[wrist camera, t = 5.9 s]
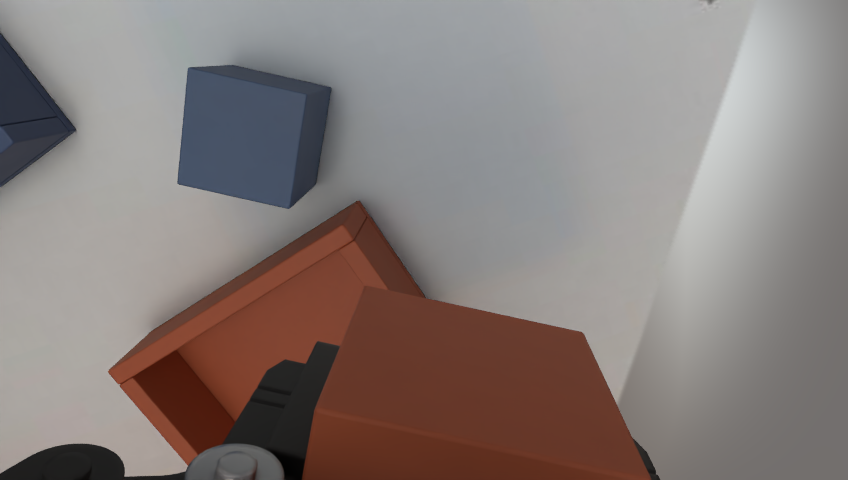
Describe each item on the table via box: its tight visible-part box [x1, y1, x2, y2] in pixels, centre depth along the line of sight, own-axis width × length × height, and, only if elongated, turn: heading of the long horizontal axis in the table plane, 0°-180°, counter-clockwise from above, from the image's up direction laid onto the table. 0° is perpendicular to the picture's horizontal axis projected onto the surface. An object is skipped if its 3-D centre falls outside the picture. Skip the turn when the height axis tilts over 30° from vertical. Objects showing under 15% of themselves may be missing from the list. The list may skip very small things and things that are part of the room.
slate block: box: [178, 65, 331, 209], centre depth 24 cm, size 4×4×4 cm
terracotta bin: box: [108, 201, 426, 465], centre depth 28 cm, size 13×13×4 cm
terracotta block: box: [302, 286, 651, 480], centre depth 10 cm, size 4×4×4 cm
